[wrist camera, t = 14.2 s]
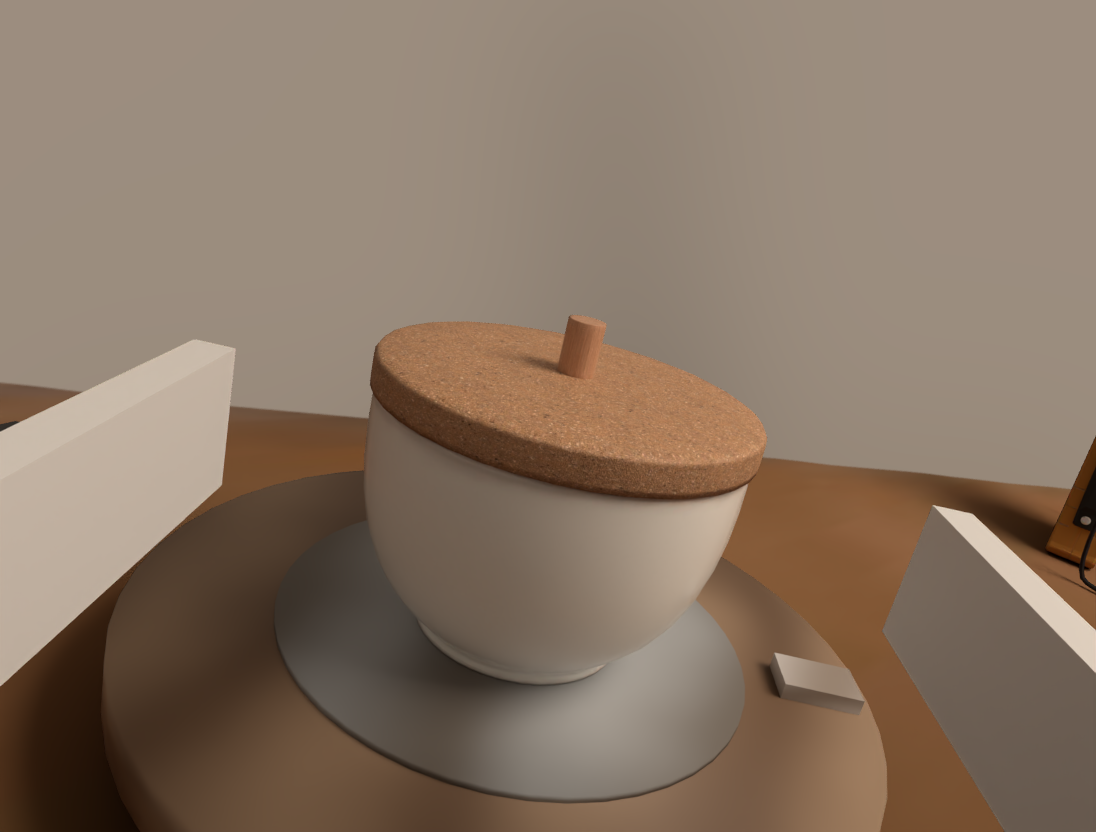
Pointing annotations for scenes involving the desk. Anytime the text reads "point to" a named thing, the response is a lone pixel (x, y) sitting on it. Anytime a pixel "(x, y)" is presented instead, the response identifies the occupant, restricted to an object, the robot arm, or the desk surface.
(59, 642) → the desk surface
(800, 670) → the turntable
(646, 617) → the lidded jar
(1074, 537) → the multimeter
